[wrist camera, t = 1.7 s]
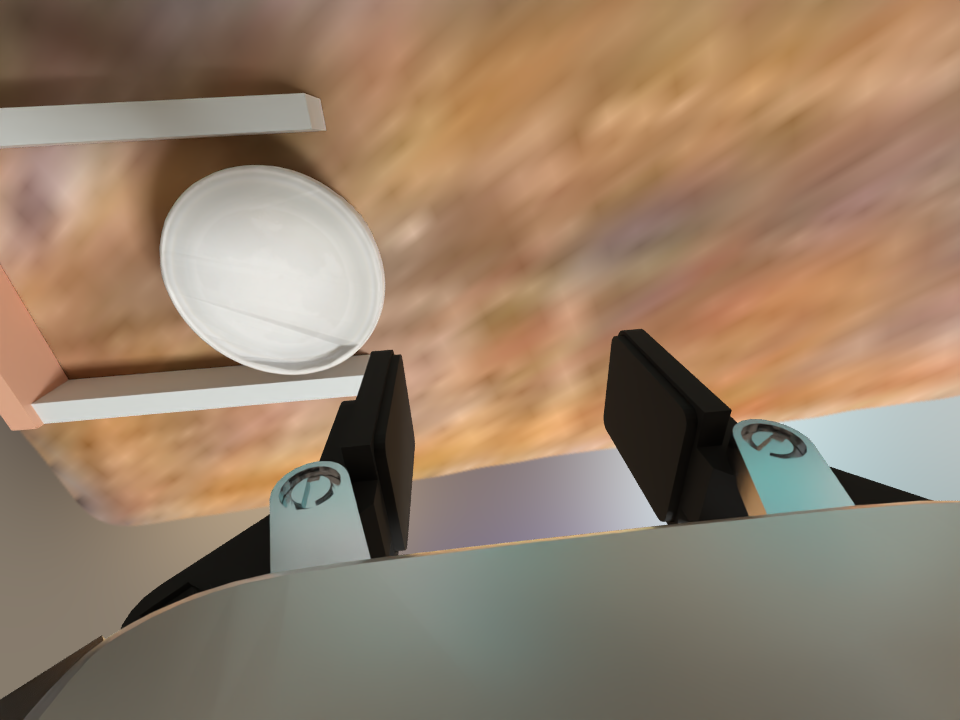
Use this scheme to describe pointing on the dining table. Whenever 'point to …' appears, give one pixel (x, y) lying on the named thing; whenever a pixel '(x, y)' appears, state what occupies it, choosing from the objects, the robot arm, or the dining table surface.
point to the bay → (53, 398)
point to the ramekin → (272, 269)
